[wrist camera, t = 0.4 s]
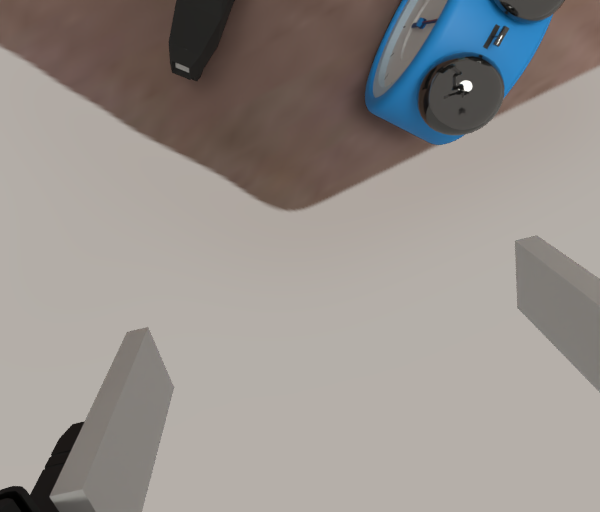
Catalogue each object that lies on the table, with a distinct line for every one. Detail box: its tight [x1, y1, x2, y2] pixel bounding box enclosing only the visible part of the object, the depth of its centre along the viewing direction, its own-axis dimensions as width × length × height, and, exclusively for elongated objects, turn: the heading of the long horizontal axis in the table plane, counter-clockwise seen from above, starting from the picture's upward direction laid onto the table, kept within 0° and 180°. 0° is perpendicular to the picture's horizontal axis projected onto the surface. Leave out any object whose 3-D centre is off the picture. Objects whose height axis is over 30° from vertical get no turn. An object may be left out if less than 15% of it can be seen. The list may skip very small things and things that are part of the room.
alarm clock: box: [365, 0, 565, 145], centre depth 31 cm, size 13×6×15 cm, turn 154°
